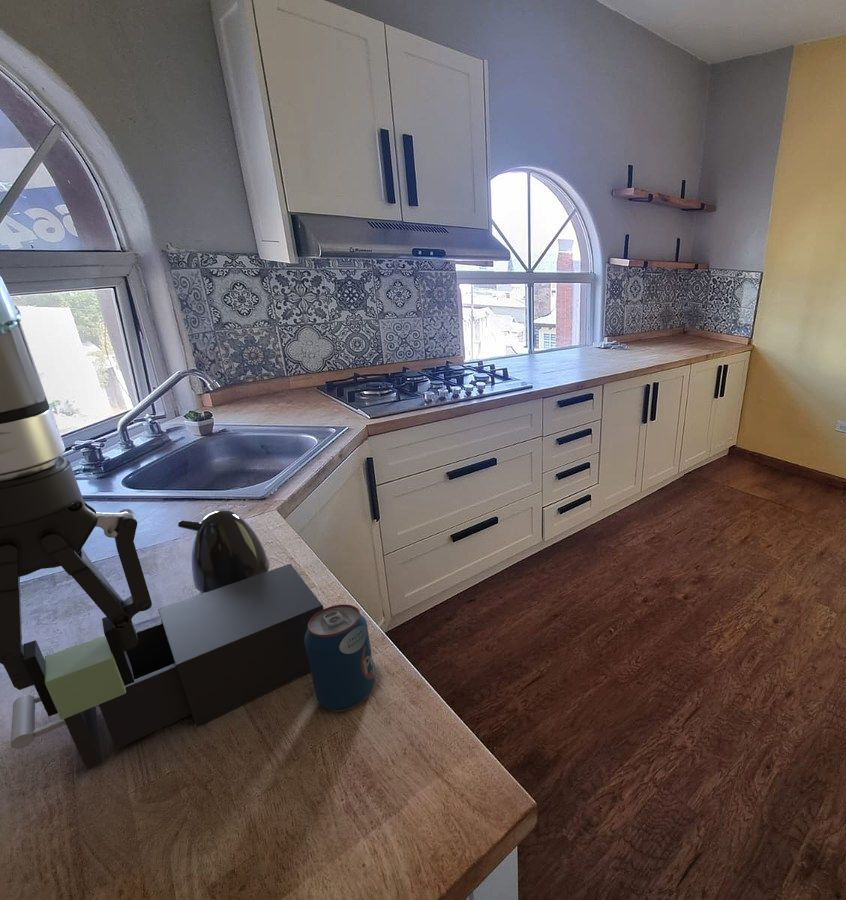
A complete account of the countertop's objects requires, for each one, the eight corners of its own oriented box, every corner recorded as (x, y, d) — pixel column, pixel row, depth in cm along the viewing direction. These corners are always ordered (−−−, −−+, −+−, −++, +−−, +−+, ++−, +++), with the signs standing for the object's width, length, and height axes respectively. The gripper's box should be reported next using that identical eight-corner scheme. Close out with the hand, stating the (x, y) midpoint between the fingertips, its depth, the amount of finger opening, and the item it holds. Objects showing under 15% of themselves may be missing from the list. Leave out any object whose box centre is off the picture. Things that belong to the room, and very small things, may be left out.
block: (60, 692, 48) (44, 655, 46) (121, 668, 51) (109, 633, 50) (61, 720, 45) (44, 683, 44) (126, 693, 48) (112, 657, 47)
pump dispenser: (210, 581, 86) (188, 502, 81) (279, 570, 90) (262, 494, 85) (188, 618, 78) (162, 532, 72) (266, 605, 81) (246, 522, 76)
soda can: (385, 695, 65) (373, 620, 61) (327, 726, 61) (311, 647, 57) (365, 665, 70) (353, 594, 66) (311, 691, 65) (294, 617, 61)
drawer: (27, 798, 51) (-2, 742, 48) (29, 723, 59) (4, 671, 56) (245, 694, 64) (232, 645, 61) (222, 644, 72) (210, 599, 69)
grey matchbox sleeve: (196, 728, 60) (175, 665, 57) (176, 666, 69) (157, 608, 65) (333, 660, 71) (323, 604, 67) (301, 614, 79) (290, 563, 76)
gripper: (-212, 519, 31) (-57, 778, 40) (150, 455, 43) (211, 665, 52) (-178, 481, 36) (-46, 719, 45) (139, 433, 48) (197, 628, 56)
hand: (92, 690), depth 48 cm, fingers closed on block, 4 cm apart
